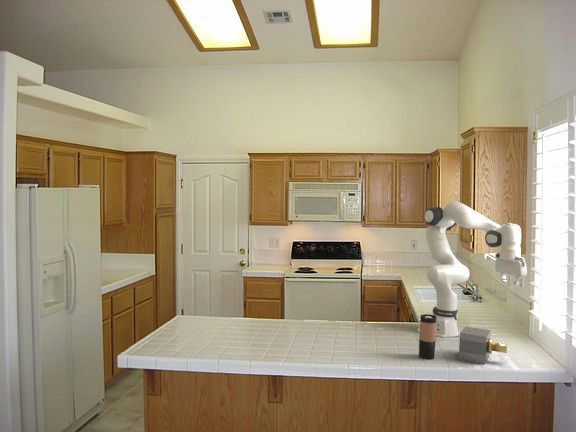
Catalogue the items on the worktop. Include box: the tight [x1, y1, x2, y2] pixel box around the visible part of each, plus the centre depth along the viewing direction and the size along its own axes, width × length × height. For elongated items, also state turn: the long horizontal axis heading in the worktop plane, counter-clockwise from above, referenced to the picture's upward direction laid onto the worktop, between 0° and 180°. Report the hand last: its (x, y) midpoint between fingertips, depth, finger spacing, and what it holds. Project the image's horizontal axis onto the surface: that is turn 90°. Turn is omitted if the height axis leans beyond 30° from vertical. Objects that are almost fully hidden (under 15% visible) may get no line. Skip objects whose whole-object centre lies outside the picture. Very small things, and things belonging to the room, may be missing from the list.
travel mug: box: [418, 313, 437, 361], centre depth 254 cm, size 8×8×20 cm
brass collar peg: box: [487, 338, 508, 355], centre depth 253 cm, size 15×7×7 cm, turn 62°
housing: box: [458, 325, 492, 365], centre depth 256 cm, size 12×14×13 cm
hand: (510, 283), depth 264 cm, fingers open, 8 cm apart
